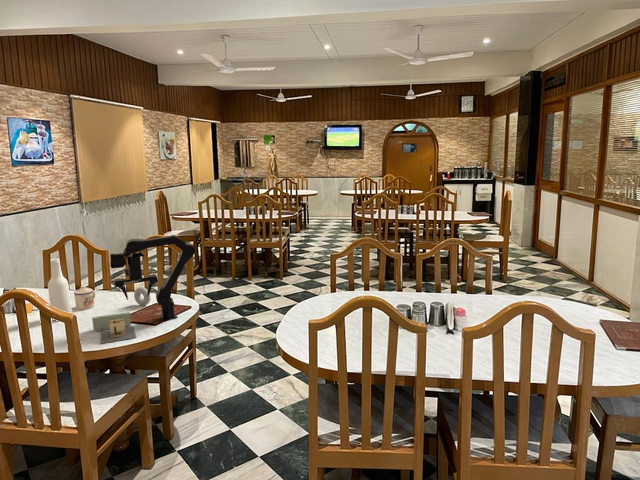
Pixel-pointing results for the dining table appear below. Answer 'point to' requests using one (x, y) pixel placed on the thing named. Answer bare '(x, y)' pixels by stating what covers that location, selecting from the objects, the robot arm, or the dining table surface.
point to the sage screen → (104, 323)
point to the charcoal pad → (107, 337)
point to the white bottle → (58, 288)
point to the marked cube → (117, 328)
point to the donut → (138, 296)
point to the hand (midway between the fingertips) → (137, 298)
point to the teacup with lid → (84, 298)
